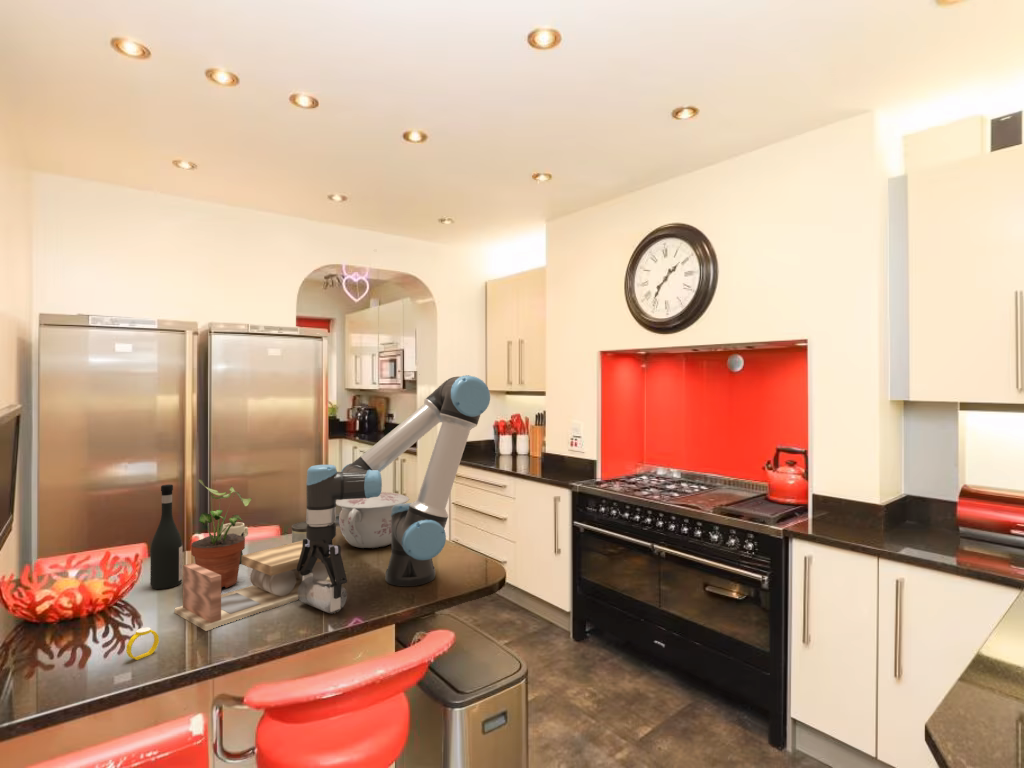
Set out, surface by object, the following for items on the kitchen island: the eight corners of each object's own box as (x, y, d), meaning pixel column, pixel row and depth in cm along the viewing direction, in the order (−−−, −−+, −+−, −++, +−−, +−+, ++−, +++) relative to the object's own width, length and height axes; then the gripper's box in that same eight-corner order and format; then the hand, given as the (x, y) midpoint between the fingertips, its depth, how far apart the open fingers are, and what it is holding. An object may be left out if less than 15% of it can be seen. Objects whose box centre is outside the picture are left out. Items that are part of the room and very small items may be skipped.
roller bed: (340, 585, 161) (340, 544, 161) (205, 631, 131) (206, 580, 131) (305, 573, 172) (306, 535, 172) (174, 612, 142) (174, 566, 142)
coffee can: (300, 561, 184) (301, 520, 184) (330, 562, 183) (330, 520, 183) (285, 571, 174) (285, 527, 174) (316, 572, 173) (316, 528, 173)
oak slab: (335, 557, 161) (335, 548, 161) (271, 575, 145) (271, 566, 145) (304, 547, 171) (304, 540, 171) (241, 564, 155) (241, 555, 155)
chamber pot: (389, 530, 225) (389, 480, 225) (422, 544, 204) (422, 489, 204) (322, 542, 207) (322, 488, 207) (351, 560, 186) (351, 499, 186)
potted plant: (218, 597, 152) (218, 473, 152) (179, 591, 157) (179, 470, 158) (261, 579, 167) (261, 465, 167) (224, 573, 172) (224, 463, 172)
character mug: (224, 569, 176) (224, 529, 176) (210, 566, 179) (211, 527, 179) (254, 560, 185) (254, 522, 185) (241, 557, 189) (241, 520, 189)
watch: (153, 651, 122) (155, 623, 122) (159, 654, 120) (162, 626, 121) (123, 660, 116) (125, 632, 117) (130, 664, 115) (132, 635, 115)
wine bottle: (175, 578, 167) (175, 481, 168) (187, 584, 163) (187, 484, 163) (145, 586, 161) (146, 485, 161) (157, 592, 156) (157, 488, 156)
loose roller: (345, 609, 144) (347, 583, 144) (322, 616, 138) (324, 588, 139) (319, 599, 151) (321, 574, 152) (296, 605, 146) (298, 579, 146)
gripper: (361, 527, 141) (360, 610, 140) (308, 514, 155) (307, 590, 155) (336, 533, 135) (336, 620, 134) (283, 519, 149) (283, 598, 149)
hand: (320, 604), depth 145 cm, fingers closed on loose roller, 12 cm apart
